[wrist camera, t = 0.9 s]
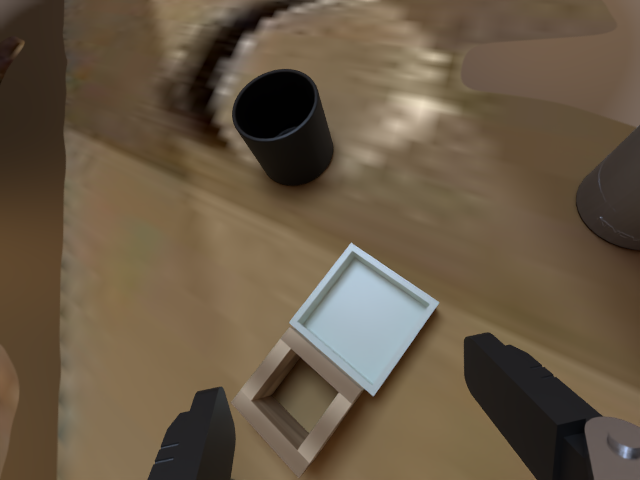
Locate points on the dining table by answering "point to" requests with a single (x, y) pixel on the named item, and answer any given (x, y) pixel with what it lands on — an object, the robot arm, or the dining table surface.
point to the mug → (284, 126)
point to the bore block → (273, 417)
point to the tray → (363, 317)
